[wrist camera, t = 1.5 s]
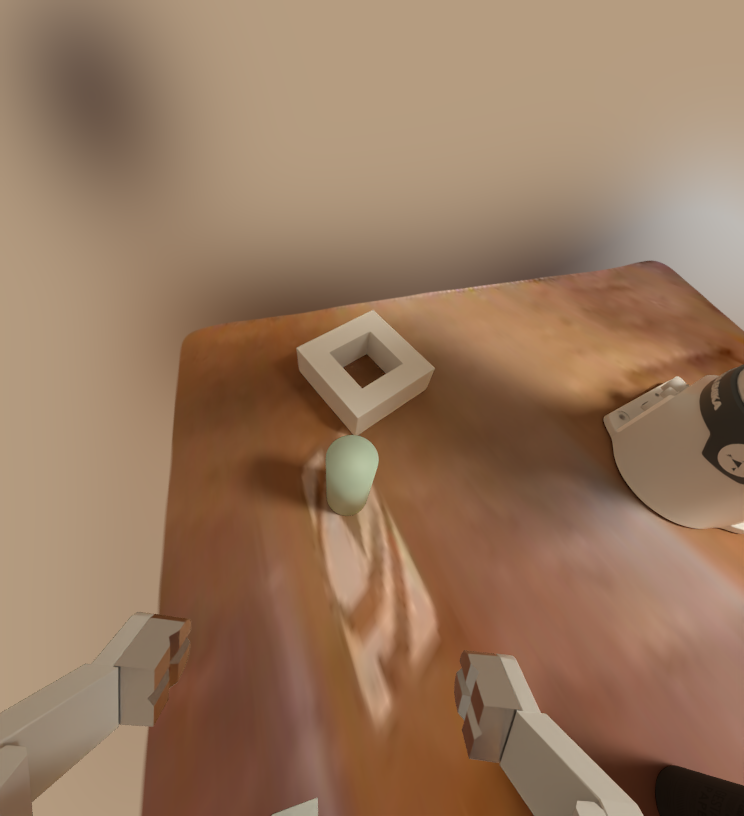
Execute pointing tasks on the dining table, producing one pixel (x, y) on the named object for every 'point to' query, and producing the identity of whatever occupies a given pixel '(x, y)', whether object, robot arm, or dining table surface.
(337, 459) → the green dowel
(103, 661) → the robot arm
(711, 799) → the drinking cup
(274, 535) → the dining table surface
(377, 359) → the well block
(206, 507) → the dining table surface
